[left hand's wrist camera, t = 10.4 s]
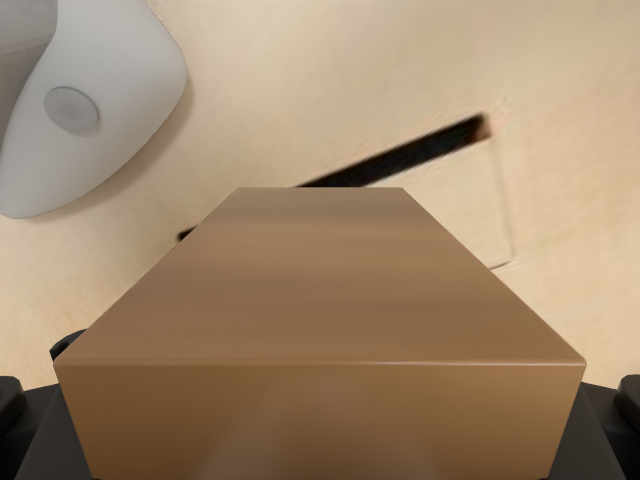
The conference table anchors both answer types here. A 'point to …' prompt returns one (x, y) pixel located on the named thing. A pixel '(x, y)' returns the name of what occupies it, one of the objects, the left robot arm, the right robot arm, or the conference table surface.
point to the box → (319, 353)
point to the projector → (78, 95)
